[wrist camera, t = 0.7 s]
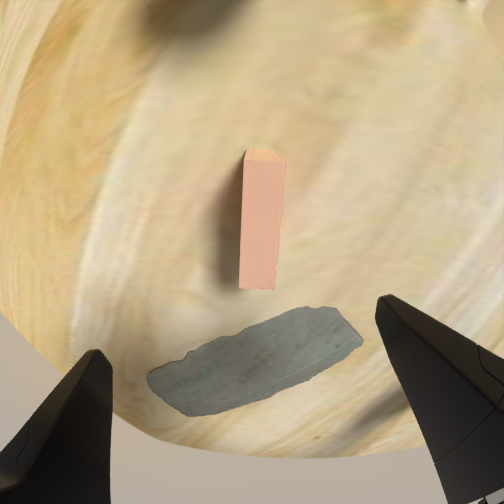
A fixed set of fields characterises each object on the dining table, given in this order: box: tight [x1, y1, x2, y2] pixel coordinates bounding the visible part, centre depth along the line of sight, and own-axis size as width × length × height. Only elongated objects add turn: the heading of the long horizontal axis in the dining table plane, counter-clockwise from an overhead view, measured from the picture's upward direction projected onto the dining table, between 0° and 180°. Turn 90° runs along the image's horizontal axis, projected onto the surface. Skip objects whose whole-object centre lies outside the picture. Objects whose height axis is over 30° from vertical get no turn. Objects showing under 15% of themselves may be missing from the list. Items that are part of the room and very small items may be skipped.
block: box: [239, 149, 286, 290], centre depth 17 cm, size 2×7×6 cm, turn 177°
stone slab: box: [147, 306, 363, 417], centre depth 27 cm, size 22×3×10 cm
